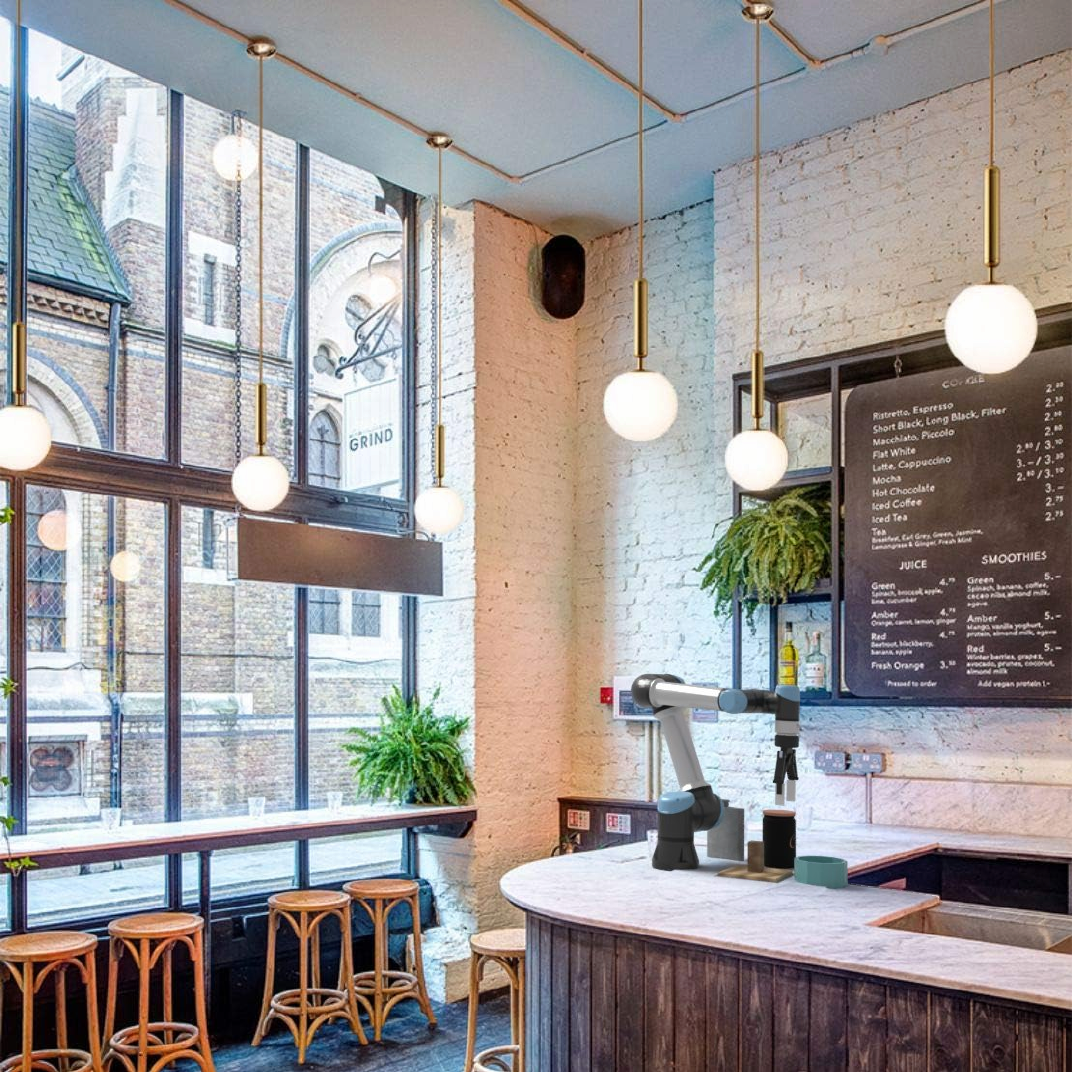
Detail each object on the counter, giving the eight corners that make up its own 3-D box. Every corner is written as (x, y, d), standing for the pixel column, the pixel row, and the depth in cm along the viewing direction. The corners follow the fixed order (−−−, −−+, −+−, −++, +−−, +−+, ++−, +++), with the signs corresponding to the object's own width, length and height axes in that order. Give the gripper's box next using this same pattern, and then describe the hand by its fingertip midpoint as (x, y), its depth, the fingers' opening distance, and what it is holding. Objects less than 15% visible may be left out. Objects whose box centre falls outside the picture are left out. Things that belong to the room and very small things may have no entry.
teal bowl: (789, 884, 345) (789, 860, 346) (803, 877, 358) (803, 854, 359) (839, 889, 338) (839, 865, 339) (852, 882, 351) (851, 858, 352)
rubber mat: (713, 877, 353) (713, 875, 353) (735, 869, 370) (735, 867, 370) (777, 885, 343) (777, 883, 343) (796, 875, 361) (796, 873, 361)
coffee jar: (796, 871, 368) (796, 814, 370) (762, 869, 370) (762, 812, 372) (795, 866, 379) (795, 810, 381) (762, 864, 381) (762, 808, 383)
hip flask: (746, 862, 385) (746, 801, 387) (737, 863, 382) (737, 801, 385) (711, 855, 397) (712, 796, 400) (703, 856, 395) (703, 796, 397)
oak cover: (717, 875, 353) (718, 842, 355) (737, 867, 369) (737, 835, 370) (775, 882, 345) (775, 847, 346) (792, 873, 360) (792, 841, 361)
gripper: (788, 737, 350) (787, 808, 348) (808, 733, 372) (806, 800, 370) (764, 735, 353) (762, 805, 351) (785, 731, 375) (783, 798, 373)
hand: (785, 803), depth 361 cm, fingers open, 13 cm apart
